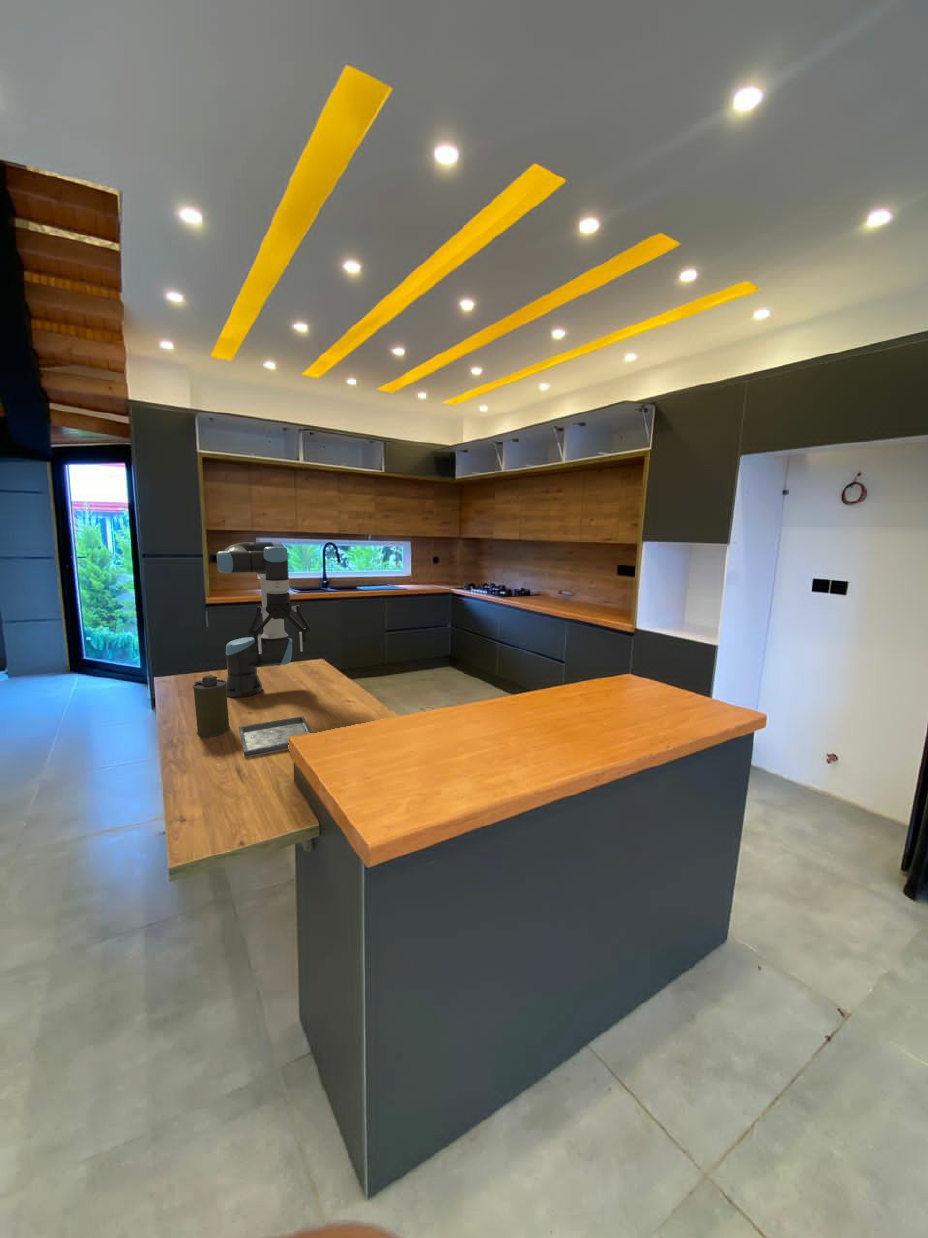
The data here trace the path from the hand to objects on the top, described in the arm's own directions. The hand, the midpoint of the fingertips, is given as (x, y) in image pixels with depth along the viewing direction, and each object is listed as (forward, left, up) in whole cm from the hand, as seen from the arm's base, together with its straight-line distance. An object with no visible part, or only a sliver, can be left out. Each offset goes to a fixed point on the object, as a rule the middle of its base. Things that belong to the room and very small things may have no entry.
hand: (281, 652), depth 170 cm
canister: (-8, -23, -28) cm, 37 cm away
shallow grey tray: (+8, -4, -28) cm, 29 cm away
